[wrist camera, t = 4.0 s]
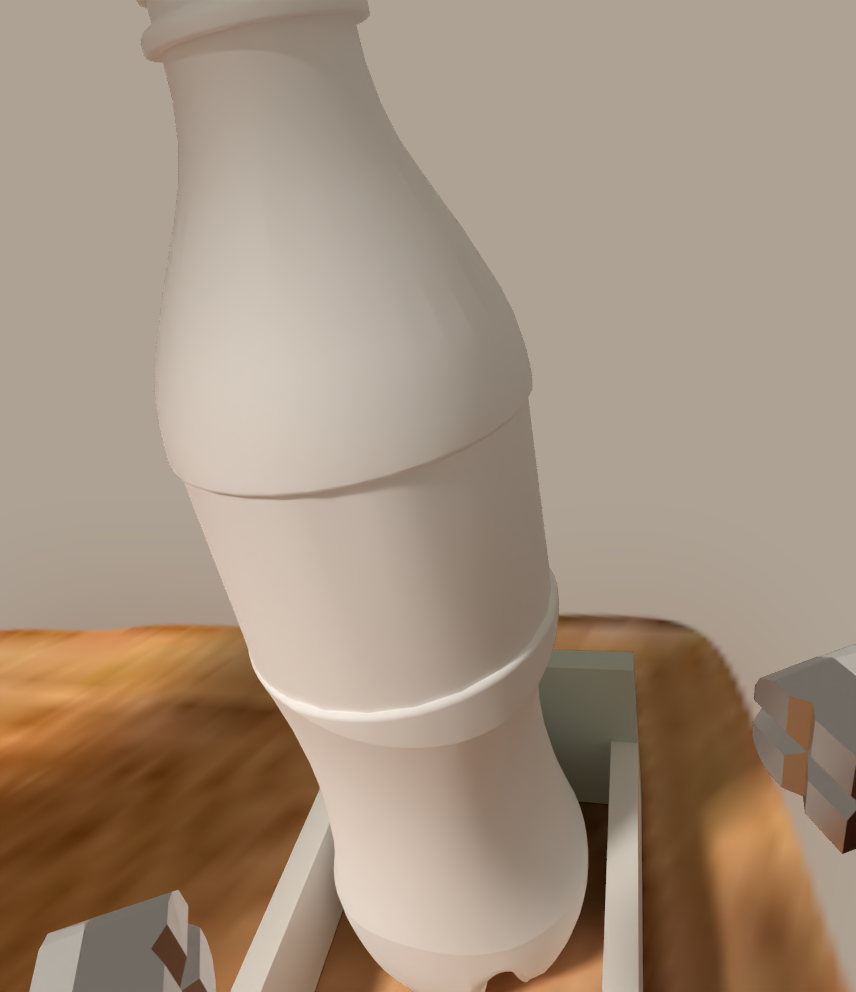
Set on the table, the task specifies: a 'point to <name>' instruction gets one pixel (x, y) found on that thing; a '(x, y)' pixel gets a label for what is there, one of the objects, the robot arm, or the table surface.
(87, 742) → the table surface
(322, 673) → the water bottle
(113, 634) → the table surface
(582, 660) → the bay
